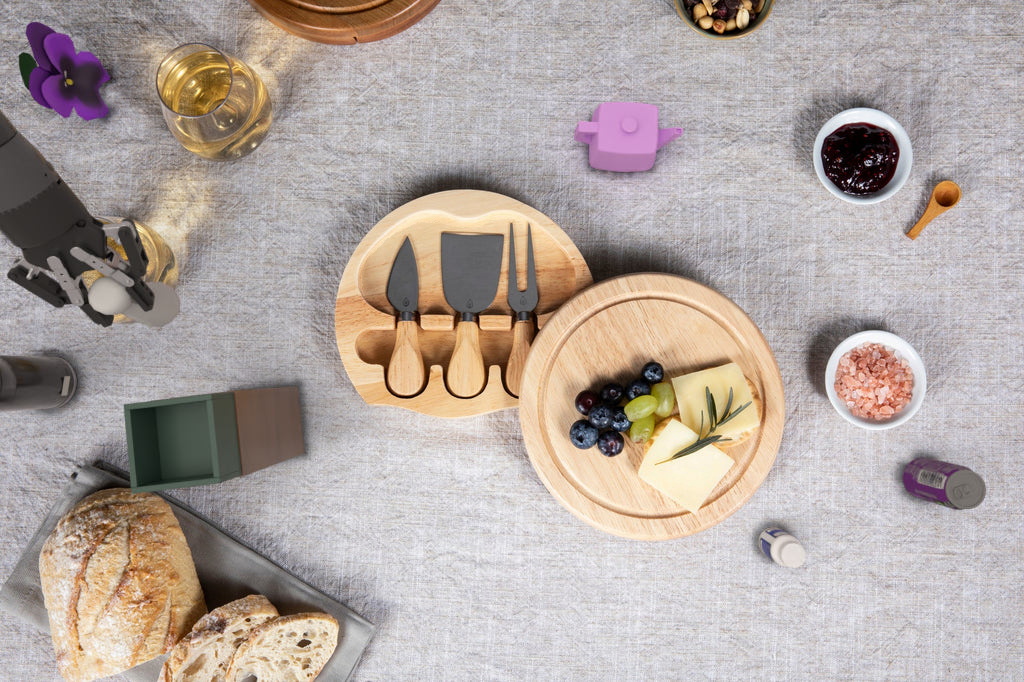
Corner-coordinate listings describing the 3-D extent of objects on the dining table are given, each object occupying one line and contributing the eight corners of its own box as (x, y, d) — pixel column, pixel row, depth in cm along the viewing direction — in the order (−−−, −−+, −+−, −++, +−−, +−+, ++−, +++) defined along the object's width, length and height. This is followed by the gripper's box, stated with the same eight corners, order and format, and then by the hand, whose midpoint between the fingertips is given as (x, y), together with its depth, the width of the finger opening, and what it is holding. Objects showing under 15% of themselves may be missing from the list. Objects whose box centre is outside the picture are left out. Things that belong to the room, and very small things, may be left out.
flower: (74, 142, 126) (116, 131, 120) (-19, 115, 113) (22, 101, 107) (77, 67, 127) (119, 52, 121) (-15, 32, 114) (26, 12, 107)
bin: (159, 485, 92) (131, 494, 86) (151, 402, 93) (123, 404, 86) (242, 475, 92) (220, 483, 85) (233, 391, 93) (211, 393, 86)
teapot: (674, 118, 120) (688, 95, 109) (671, 176, 119) (685, 158, 109) (574, 114, 120) (579, 90, 110) (571, 171, 120) (575, 152, 109)
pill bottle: (778, 562, 116) (799, 578, 107) (752, 546, 116) (771, 561, 107) (794, 536, 116) (816, 550, 107) (768, 520, 116) (788, 533, 107)
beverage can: (912, 505, 116) (957, 520, 104) (892, 468, 116) (935, 479, 104) (948, 486, 116) (997, 499, 104) (928, 449, 116) (975, 458, 104)
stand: (238, 461, 118) (158, 486, 92) (231, 394, 119) (149, 400, 93) (304, 453, 118) (243, 476, 92) (297, 386, 119) (234, 390, 93)
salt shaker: (182, 333, 86) (122, 325, 73) (139, 324, 86) (71, 315, 73) (192, 288, 86) (134, 273, 73) (148, 280, 86) (83, 263, 73)
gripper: (-66, 234, 62) (64, 358, 74) (77, 179, 62) (185, 311, 74) (-38, 197, 68) (79, 317, 79) (94, 147, 68) (192, 274, 79)
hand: (130, 313), depth 77 cm, fingers closed on salt shaker, 4 cm apart
